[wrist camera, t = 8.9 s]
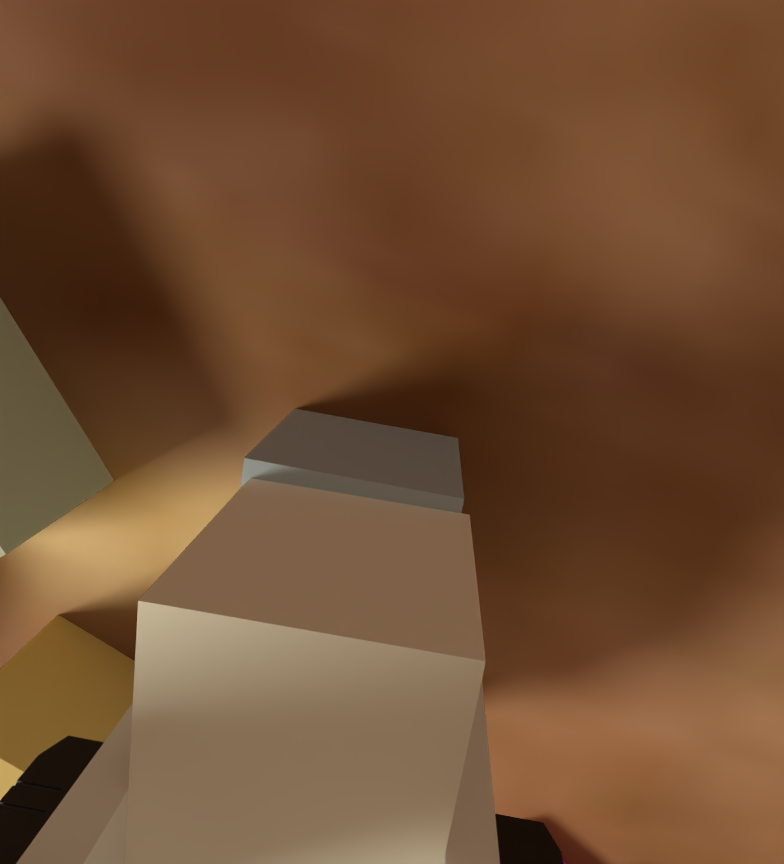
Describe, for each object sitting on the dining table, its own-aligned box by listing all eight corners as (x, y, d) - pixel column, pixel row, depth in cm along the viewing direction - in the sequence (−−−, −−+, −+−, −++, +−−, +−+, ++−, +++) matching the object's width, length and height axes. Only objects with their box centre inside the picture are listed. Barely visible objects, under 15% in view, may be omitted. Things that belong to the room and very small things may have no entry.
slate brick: (297, 406, 18) (243, 458, 13) (457, 435, 18) (464, 499, 13) (259, 683, 20) (202, 814, 15) (401, 711, 20) (389, 852, 15)
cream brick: (250, 477, 13) (138, 600, 8) (469, 514, 13) (485, 660, 8) (215, 831, 15) (113, 1088, 11) (402, 866, 15) (383, 1144, 10)
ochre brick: (61, 611, 20) (-59, 724, 15) (187, 688, 20) (110, 821, 15) (-57, 804, 22) (-195, 957, 17) (60, 870, 22) (-43, 1037, 17)
